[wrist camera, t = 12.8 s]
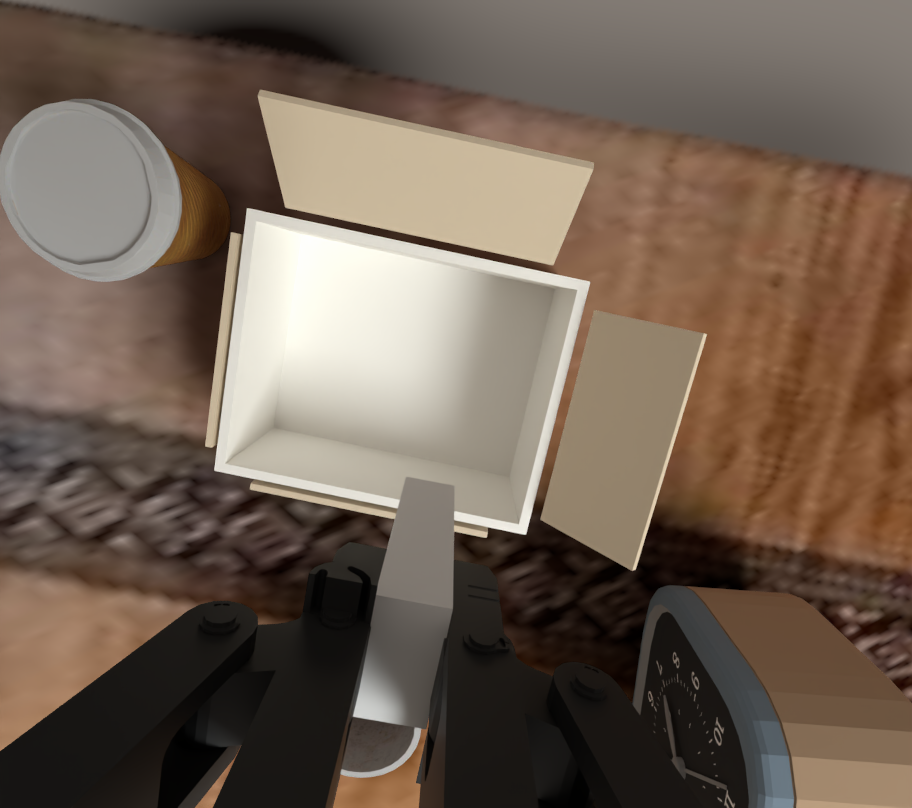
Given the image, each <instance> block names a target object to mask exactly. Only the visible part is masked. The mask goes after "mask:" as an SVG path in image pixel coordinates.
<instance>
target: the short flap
mask: <svg viewBox="0 0 912 808" xmlns="http://www.w3.org/2000/svg"><path fill="white" fill-rule="evenodd" d="M706 336H707V334H704V333H699V332H694V331H690V330H685V329H680V328H676V327H671V326H666V325H662V324H657V323H652V322H648V321H643V320H638V319H634V318H629V317H624V316H620V315H615V314H610V313H606V312H601V311H596V310H594V314H593V317H592V321H591V325H590V329H589V333H588V337H587V341H586V345H585V348H584V352H583V356H582V360H581V364H580V368H579V372H578V375H577V379H576V383H575V387H574V391H573V395H572V399H571V403H570V406H569V410H568V414H567V418H566V422H565V426H564V430H563V434H562V437H561V441H560V445H559V449H558V453H557V457H556V461H555V465H554V468H553V472H552V476H551V480H550V484H549V488H548V492H547V496H546V499H545V503H544V507H543V511H542V515H541V519H540V520H542V521H544V522H545V523H547V524H549V525H551V526H552V527H554V528H556V529H558V530H560V531H561V532H563V533H565V534H567V535H569V536H570V537H572V538H574V539H576V540H578V541H579V542H581V543H583V544H585V545H586V546H588V547H590V548H592V549H594V550H595V551H597V552H599V553H601V554H603V555H604V556H606V557H608V558H610V559H612V560H613V561H615V562H617V563H619V564H621V565H622V566H624V567H626V568H628V569H629V570H631V571H633V570H636V567H637V564H638V561H639V557H640V554H641V551H642V547H643V544H644V541H645V537H646V534H647V531H648V528H649V524H650V521H651V518H652V514H653V511H654V508H655V504H656V501H657V498H658V494H659V491H660V488H661V485H662V481H663V478H664V475H665V471H666V468H667V465H668V461H669V458H670V455H671V452H672V448H673V445H674V442H675V438H676V435H677V432H678V428H679V425H680V422H681V418H682V415H683V412H684V409H685V405H686V402H687V399H688V395H689V392H690V389H691V385H692V382H693V379H694V376H695V372H696V369H697V366H698V362H699V359H700V356H701V352H702V349H703V346H704V343H705V339H706Z"/></svg>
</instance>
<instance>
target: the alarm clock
mask: <svg viewBox="0 0 912 808" xmlns="http://www.w3.org/2000/svg"><path fill="white" fill-rule="evenodd" d="M632 705H633V706H634V707H635V709H636V710H637V712H638V713H639V715H640V716H641V718H642V719H643V720H644V722H645V723H646V725H647V726H648V728H649V729H650V731H651V732H652V733H653V735H654V736H655V738H656V739H657V741H658V742H659V744H660V745H661V746H662V748H663V749H664V751H665V752H666V754H667V755H668V757H669V758H670V759H671V761H672V762H673V764H674V765H675V767H676V768H677V770H678V771H679V772H680V774H681V775H682V777H683V778H684V780H685V781H686V783H687V784H688V786H689V787H690V788H691V790H692V791H693V793H694V794H695V796H696V797H697V799H698V800H699V801H700V803H701V804H702V806H703V807H704V808H912V703H911V702H910V701H909V700H908V699H907V698H906V696H905V695H904V694H903V693H902V692H901V691H900V690H899V689H898V688H897V687H896V685H895V684H894V683H893V682H892V681H891V680H890V679H889V678H888V677H887V676H886V675H885V674H884V673H883V672H882V671H881V670H880V669H878V668H877V667H876V666H875V665H874V664H873V663H872V662H871V661H870V660H869V659H868V658H867V657H866V656H865V655H864V654H863V653H862V652H860V651H859V650H858V649H857V648H856V647H855V646H854V645H853V644H852V643H851V642H850V641H849V640H848V639H847V638H846V637H845V636H844V635H842V634H841V633H840V632H839V631H838V630H837V629H836V628H835V627H834V626H833V625H832V624H831V623H830V622H829V621H828V620H827V619H826V618H824V617H823V616H822V615H821V614H820V613H819V612H818V611H817V610H816V609H815V608H813V607H812V606H811V605H810V604H808V603H807V602H806V601H804V600H803V599H801V598H799V597H796V596H793V595H791V594H788V593H774V592H760V591H746V590H732V589H718V588H704V587H690V586H676V585H668V586H664V587H661V588H659V589H658V590H657V591H656V592H655V594H654V595H653V597H652V599H651V600H650V603H649V607H648V612H647V616H646V620H645V625H644V629H643V635H642V642H641V649H640V655H639V662H638V669H637V676H636V682H635V689H634V696H633V702H632Z"/></svg>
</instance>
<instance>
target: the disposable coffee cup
mask: <svg viewBox="0 0 912 808" xmlns="http://www.w3.org/2000/svg"><path fill="white" fill-rule="evenodd" d="M0 196H1V201H2V205H3V207H4V209H5V212H6V214H7V216H8V218H9V221H10V223H11V225H12V226H13V227H14V229H15V230H16V232H17V233H18V235H19V236H20V238H21V239H22V240H23V241H24V242H25V243H26V244H27V245H28V246H29V247H30V248H31V249H32V250H33V251H34V252H35V253H37V254H38V255H40V256H41V257H43V258H44V259H45V260H47V261H49V262H50V263H51V264H53V265H54V266H56V267H58V268H59V269H61V270H62V271H64V272H66V273H69V274H71V275H74V276H76V277H78V278H82V279H87V280H92V281H102V282H109V281H117V280H124V279H128V278H130V277H132V276H135V275H137V274H140V273H142V272H144V271H145V270H147V269H148V268H152V267H158V266H163V265H169V264H175V263H180V262H185V261H190V260H197V259H202V258H205V257H207V256H209V255H211V254H213V253H214V252H216V251H217V250H218V249H219V248H220V247H221V245H222V244H223V243H224V241H225V239H226V237H227V235H228V232H229V229H230V222H231V219H230V210H229V206H228V202H227V200H226V198H225V196H224V194H223V192H222V191H221V189H220V188H219V187H218V186H217V185H216V184H215V183H214V182H213V181H212V180H211V179H209V178H208V177H206V176H205V175H203V174H202V173H201V172H199V171H198V170H197V169H195V168H194V167H193V166H191V165H190V164H189V163H187V162H186V161H184V160H183V159H182V158H180V157H179V156H178V155H176V154H175V153H174V152H172V151H171V150H169V149H168V148H167V147H165V146H164V145H163V144H162V143H161V141H160V140H159V139H158V138H157V137H156V136H155V135H154V133H153V132H152V131H151V130H150V129H149V128H148V126H146V125H145V124H144V123H143V122H141V121H140V120H139V119H138V118H136V117H135V116H134V115H132V114H131V113H129V112H127V111H125V110H123V109H121V108H119V107H117V106H115V105H113V104H110V103H106V102H102V101H98V100H94V99H71V100H67V101H62V102H57V103H51V104H46V105H43V106H41V107H39V108H37V109H35V110H32V111H31V112H30V113H28V114H27V115H26V116H25V117H24V118H22V119H21V120H20V121H19V122H18V123H17V124H16V125H15V126H14V127H13V128H12V130H11V132H10V134H9V135H8V137H7V139H6V140H5V142H4V145H3V148H2V151H1V155H0Z"/></svg>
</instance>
